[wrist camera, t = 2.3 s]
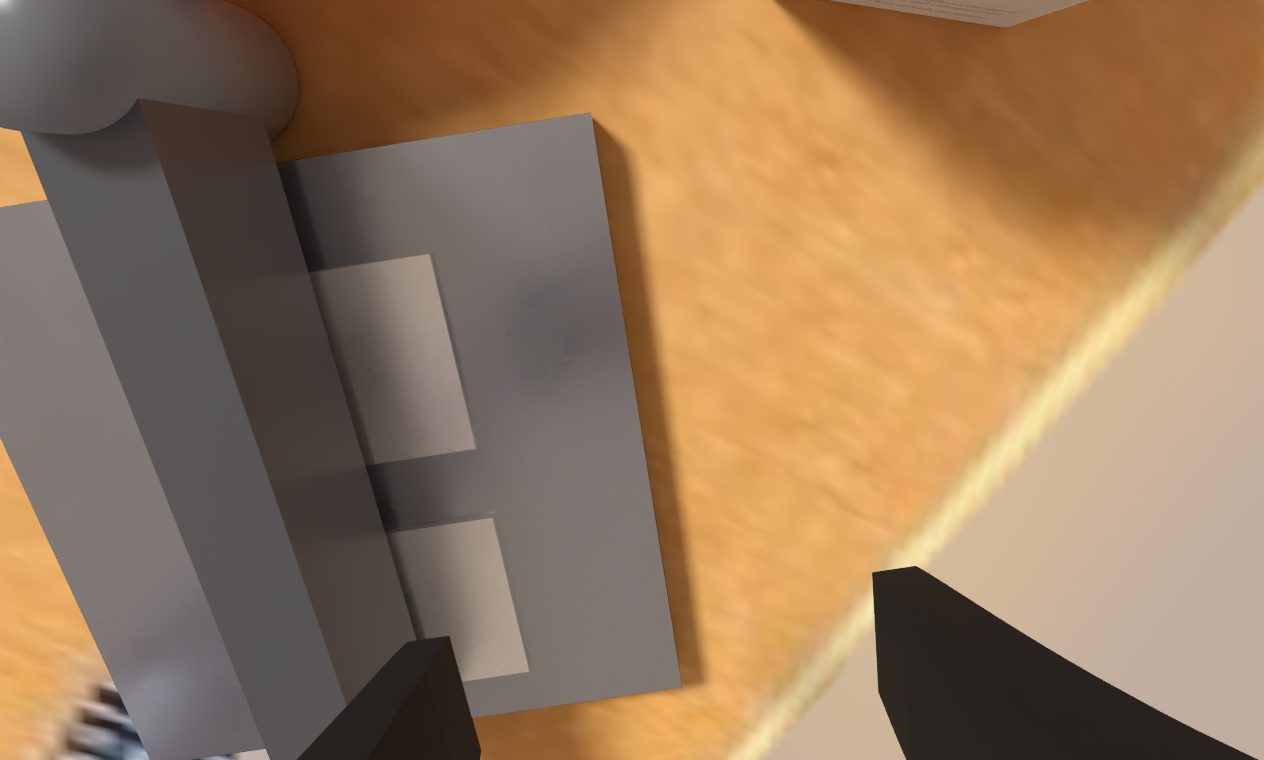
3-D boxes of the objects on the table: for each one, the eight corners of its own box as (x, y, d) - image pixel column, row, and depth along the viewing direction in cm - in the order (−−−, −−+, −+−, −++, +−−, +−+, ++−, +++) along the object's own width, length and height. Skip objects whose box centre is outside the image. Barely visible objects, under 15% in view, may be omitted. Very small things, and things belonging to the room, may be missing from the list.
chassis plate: (678, 663, 21) (682, 692, 20) (173, 738, 21) (148, 770, 20) (591, 116, 16) (590, 112, 15) (-58, 220, 16) (-109, 223, 15)
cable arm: (142, 15, 15) (-152, -84, 9) (275, -6, 15) (63, -121, 9) (374, 715, 21) (282, 924, 15) (470, 701, 21) (415, 905, 15)
